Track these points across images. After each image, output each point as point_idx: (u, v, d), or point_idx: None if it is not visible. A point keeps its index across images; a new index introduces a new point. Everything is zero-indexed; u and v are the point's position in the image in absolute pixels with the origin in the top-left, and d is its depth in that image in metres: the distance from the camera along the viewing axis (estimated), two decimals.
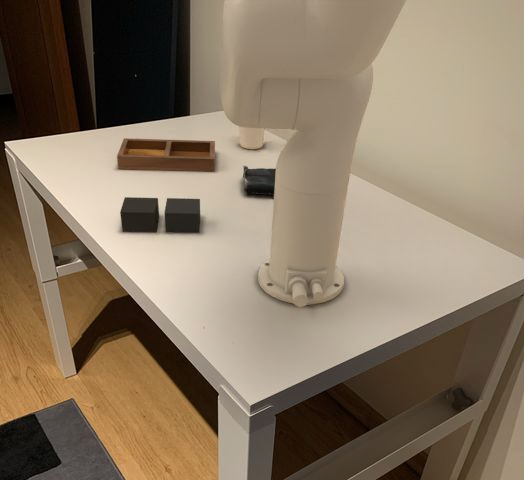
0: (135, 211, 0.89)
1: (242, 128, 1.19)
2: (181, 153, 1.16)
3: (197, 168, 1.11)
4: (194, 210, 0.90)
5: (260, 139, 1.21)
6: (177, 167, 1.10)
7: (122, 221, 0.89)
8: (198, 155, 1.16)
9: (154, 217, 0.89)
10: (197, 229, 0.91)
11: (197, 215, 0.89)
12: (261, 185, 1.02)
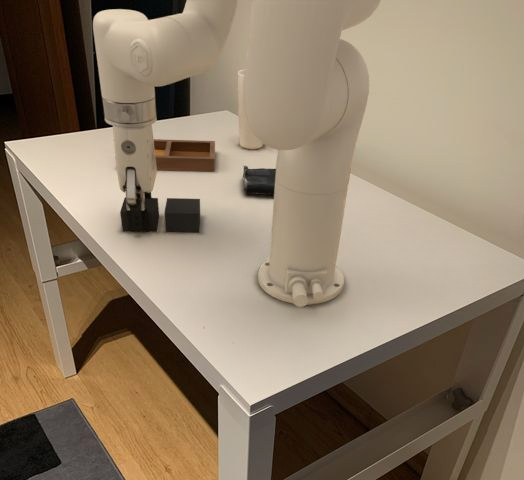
0: None
1: (242, 128, 1.19)
2: (181, 153, 1.16)
3: (197, 168, 1.11)
4: (194, 210, 0.90)
5: None
6: (177, 167, 1.10)
7: (122, 221, 0.89)
8: (198, 155, 1.16)
9: (154, 217, 0.89)
10: (197, 229, 0.91)
11: (197, 215, 0.89)
12: (261, 185, 1.02)
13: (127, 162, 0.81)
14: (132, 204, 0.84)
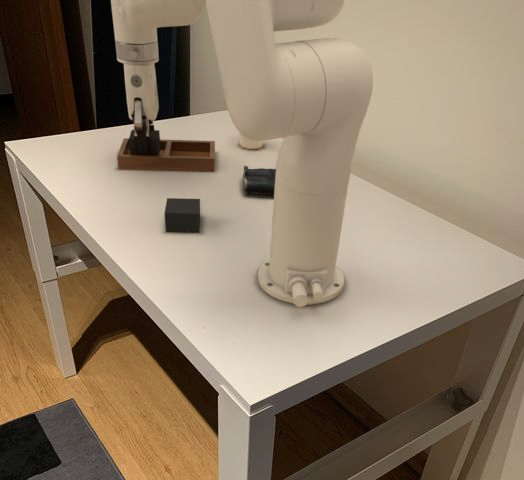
0: None
1: None
2: (181, 153, 1.16)
3: (197, 168, 1.11)
4: (194, 210, 0.90)
5: None
6: (177, 167, 1.10)
7: (130, 147, 1.09)
8: (198, 155, 1.16)
9: (156, 144, 1.09)
10: (197, 229, 0.91)
11: (197, 215, 0.89)
12: (261, 185, 1.02)
13: (135, 94, 1.01)
14: (139, 129, 1.04)
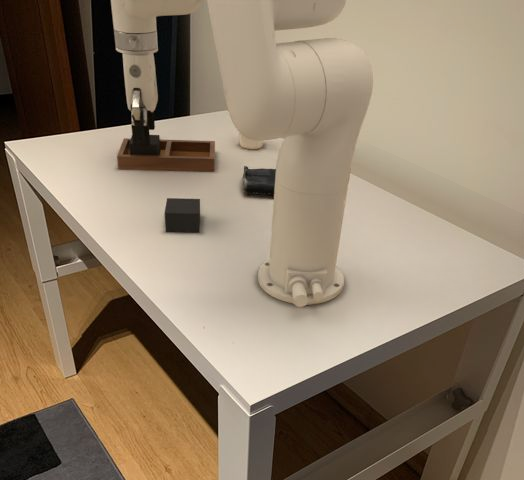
0: None
1: None
2: (181, 153, 1.16)
3: (197, 168, 1.11)
4: (194, 210, 0.90)
5: None
6: (177, 167, 1.10)
7: (130, 152, 1.10)
8: (198, 155, 1.16)
9: (156, 148, 1.10)
10: (197, 229, 0.91)
11: (197, 215, 0.89)
12: (261, 185, 1.02)
13: (133, 84, 1.00)
14: (136, 116, 1.01)
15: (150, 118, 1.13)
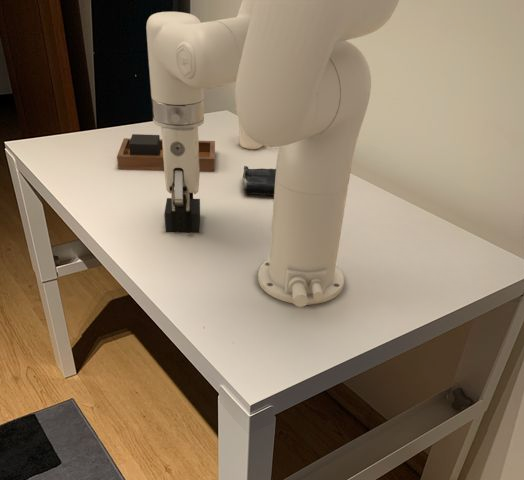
0: (141, 143, 1.09)
1: (242, 128, 1.19)
2: None
3: None
4: (194, 210, 0.90)
5: None
6: None
7: (130, 152, 1.10)
8: None
9: (156, 148, 1.10)
10: (197, 229, 0.91)
11: (197, 215, 0.89)
12: (261, 185, 1.02)
13: (175, 164, 0.82)
14: (179, 205, 0.84)
15: None
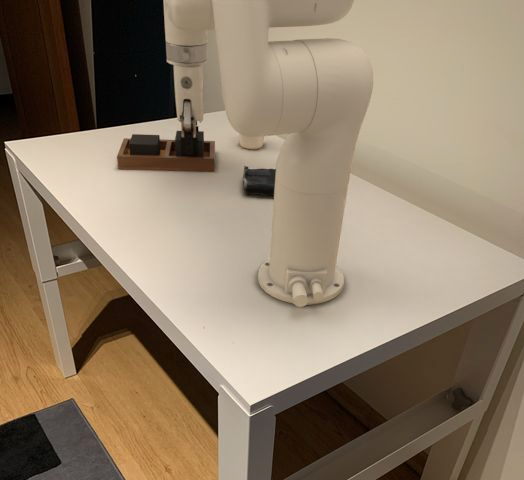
0: (141, 143, 1.09)
1: None
2: None
3: (197, 168, 1.11)
4: (199, 138, 1.10)
5: (260, 139, 1.21)
6: (177, 167, 1.10)
7: (130, 152, 1.10)
8: None
9: (156, 148, 1.10)
10: (201, 155, 1.11)
11: (201, 142, 1.10)
12: (261, 185, 1.02)
13: (184, 95, 1.02)
14: (187, 130, 1.04)
15: None
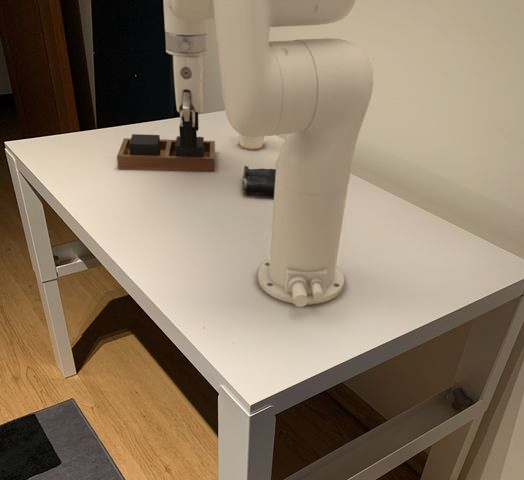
0: (141, 143, 1.09)
1: None
2: None
3: (197, 168, 1.11)
4: (199, 144, 1.11)
5: (260, 139, 1.21)
6: (177, 167, 1.10)
7: (130, 152, 1.10)
8: None
9: (156, 148, 1.10)
10: None
11: (201, 148, 1.10)
12: (261, 185, 1.02)
13: (184, 86, 1.01)
14: (186, 117, 1.01)
15: (194, 119, 1.14)
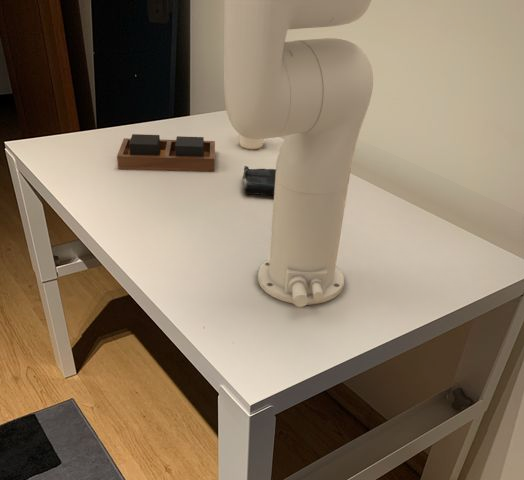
0: (141, 143, 1.09)
1: None
2: None
3: (197, 168, 1.11)
4: (199, 144, 1.11)
5: (260, 139, 1.21)
6: (177, 167, 1.10)
7: (130, 152, 1.10)
8: None
9: (156, 148, 1.10)
10: None
11: (201, 148, 1.10)
12: (261, 185, 1.02)
13: None
14: None
15: None
